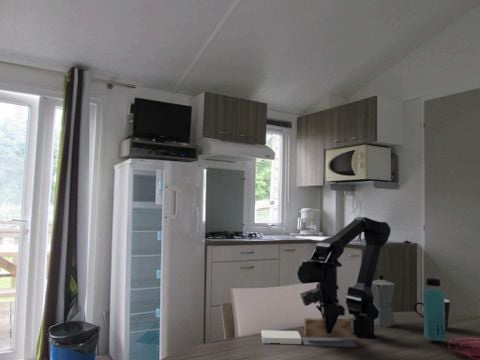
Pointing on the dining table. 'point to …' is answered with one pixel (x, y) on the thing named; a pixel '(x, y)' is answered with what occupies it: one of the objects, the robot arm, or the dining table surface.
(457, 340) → the dining table surface
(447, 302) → the coffee mug
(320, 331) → the tan wooden block
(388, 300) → the coffeepot
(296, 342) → the tile
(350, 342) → the mat
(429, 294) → the beverage bottle
